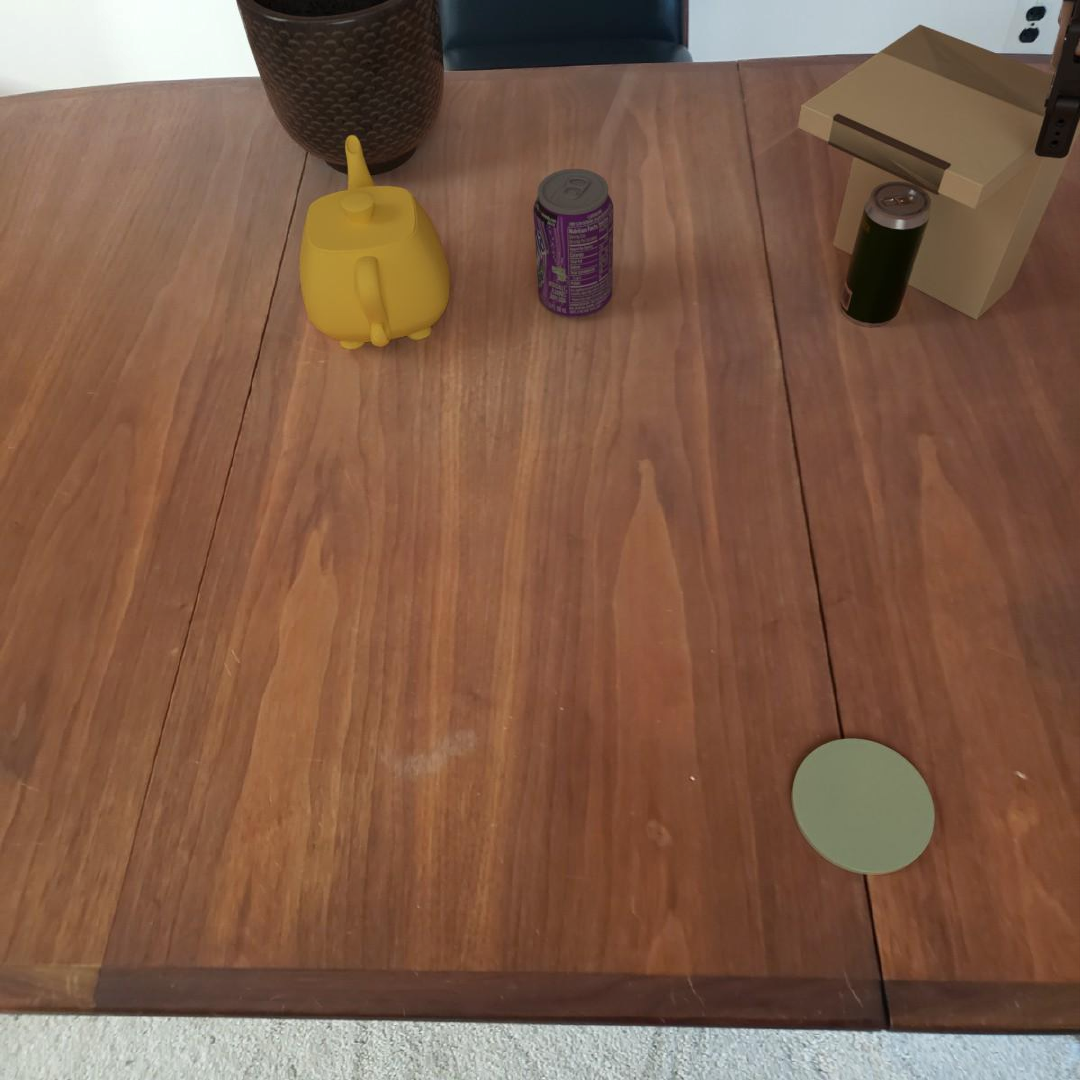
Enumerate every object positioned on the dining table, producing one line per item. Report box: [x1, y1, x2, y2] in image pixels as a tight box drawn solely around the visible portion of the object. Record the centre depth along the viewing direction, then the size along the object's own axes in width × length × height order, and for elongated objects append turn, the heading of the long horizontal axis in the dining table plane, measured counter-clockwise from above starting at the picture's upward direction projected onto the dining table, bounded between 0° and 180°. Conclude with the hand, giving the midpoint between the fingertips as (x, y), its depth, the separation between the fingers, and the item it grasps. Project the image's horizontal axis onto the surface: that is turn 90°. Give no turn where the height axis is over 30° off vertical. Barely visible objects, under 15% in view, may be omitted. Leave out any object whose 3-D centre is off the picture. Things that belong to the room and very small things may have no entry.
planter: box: [235, 0, 445, 176], centre depth 102 cm, size 20×20×19 cm
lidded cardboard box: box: [797, 24, 1080, 321], centre depth 85 cm, size 20×16×20 cm
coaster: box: [790, 737, 936, 876], centre depth 63 cm, size 9×9×1 cm
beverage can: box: [532, 168, 614, 318], centre depth 89 cm, size 7×7×12 cm
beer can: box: [839, 181, 931, 328], centre depth 86 cm, size 5×5×12 cm
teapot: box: [299, 135, 451, 350], centre depth 89 cm, size 14×20×13 cm
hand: (1057, 122), depth 72 cm, fingers open, 8 cm apart
